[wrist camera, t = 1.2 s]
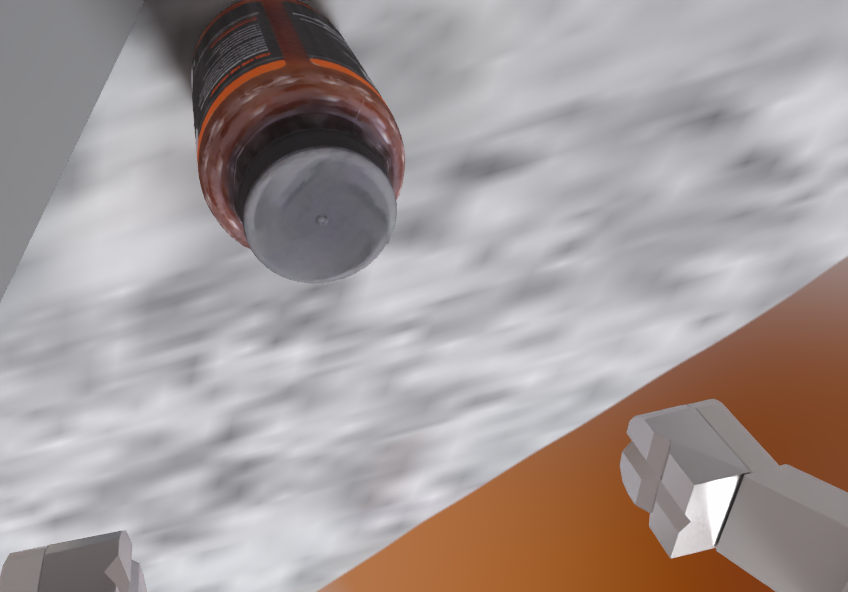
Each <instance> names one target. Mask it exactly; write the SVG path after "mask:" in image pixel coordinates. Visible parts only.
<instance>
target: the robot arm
mask: <svg viewBox="0 0 848 592" xmlns="http://www.w3.org/2000/svg"><path fill="white" fill-rule="evenodd" d="M627 434H628V435H629V436H630V438H631V440H632V441H631V442H630V444H629V445H628V446H627V447H626V448H625V449H624V450H623V451H622V457H621V462H620V468H621V474H622V480H623V483H624V485H625V488H626V490H627V493H628V494H629V496H630V497H631V499H632V500H633V502H634V504H635V505H637V506H638V507H640V508H642V509H644V510H646V511H647V512H649V513H650V522H649V527H650V528H651V530H652V531H653V533H654V534H655V536H656V537H657V539H658V540H659V542H660V543H661V545H662V546H663V548H664V549H665V551H666V552H667V554H668V555H669V557H670V558H675V557H679V556H683V555H686V554H691V553H695V552H699V551H703V550H707V549H711V548H716V547H717V548H716V551H718V552H719V553H721V554H722V555H723V556H725V557H726V558H728V559H729V560H731V561H732V562H734V563H736V564H737V565H738V566H740V567H741V568H742V569H744V570H745V571H747V572H748V573H750V574H751V575H752V576H754V577H755V578H757V579H758V580H760V581H761V582H763V583H764V584H766V585H767V586H769V587H770V588H771V589H773V590H774V591H776V592H848V493H847V492H845V491H843V490H841V489H839V488H837V487H835V486H832V485H830V484H828V483H826V482H824V481H822V480H819V479H817V478H815V477H813V476H811V475H809V474H807V473H804V472H802V471H800V470H798V469H795V468H794V467H792V466H789V465H787V464H786V465H781V466H779V465H778V464H777V463H776V462H775V461H774V460H773V459H772V457H771V456H770V455H769V454H768V453H767V452H766V451H765V450H764V449H763V448H762V446H761V445H760V444H759V443H758V442H757V441H756V440H755V439H754V438H753V437H752V436H751V434H750V433H749V432H748V431H747V430H746V429H745V428H744V427H743V426H742V425H741V424H740V423H739V422H738V420H737V419H736V418H735V417H734V416H733V415H732V414H731V413H730V412H729V410H728V409H727V408H726V407H725V406H724V405H723V404H722V403H721V402H719V401H717V400H715V399H710V400H705V401H701V402H696V403H692V404H687V405H681V406H676V407H672V408H668V409H664V410H659V411H655V412H651V413H647V414H642V415H638V416H634V417H633V419H632V420H631V421H630V422H629V426H628V430H627ZM131 559H132V543H131V541H130V538H129V536H128V534H127V532H126V531H118V532H113V533H108V534H103V535H98V536H93V537H87V538H82V539H77V540H72V541H67V542H62V543H57V544H52V545H48V546H43V547H38V548H33V549H29V550H24V551H19V552H14V553H10V554H9V556H8V557H7V559H6V561H5V563H4V564H3V567H2V571H1V576H0V592H147V590H146V584H145V580H144V575H143V572H142V569H141V566H140V564H139V563H137V562H135V561H133V560H131Z"/></svg>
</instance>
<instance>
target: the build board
mask: <svg viewBox="0 0 848 592" xmlns="http://www.w3.org/2000/svg"><path fill="white" fill-rule="evenodd" d="M144 2H145V0H0V302H1V300H2V297H3V295H4V293H5V291H6V289H7V287H8V285H9V283H10V281H11V279H12V277H13V275H14V272H15V270H16V268H17V266H18V264H19V262H20V260H21V258H22V256H23V254H24V252H25V250H26V248H27V245H28V243H29V241H30V239H31V237H32V235H33V233H34V231H35V229H36V227H37V225H38V223H39V220H40V218H41V216H42V214H43V212H44V210H45V208H46V206H47V204H48V202H49V200H50V198H51V195H52V193H53V191H54V189H55V187H56V185H57V183H58V181H59V179H60V177H61V175H62V173H63V171H64V168H65V166H66V164H67V162H68V160H69V158H70V156H71V154H72V152H73V150H74V148H75V146H76V143H77V141H78V139H79V137H80V135H81V133H82V131H83V129H84V127H85V125H86V123H87V121H88V119H89V116H90V114H91V112H92V110H93V108H94V106H95V104H96V102H97V100H98V98H99V96H100V94H101V91H102V89H103V87H104V85H105V83H106V81H107V79H108V77H109V75H110V73H111V71H112V69H113V67H114V64H115V62H116V60H117V58H118V56H119V54H120V52H121V50H122V48H123V46H124V44H125V42H126V39H127V37H128V35H129V33H130V31H131V29H132V27H133V25H134V23H135V21H136V19H137V17H138V14H139V12H140V10H141V8H142V6H143V4H144Z"/></svg>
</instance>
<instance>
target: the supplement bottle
mask: <svg viewBox="0 0 848 592" xmlns="http://www.w3.org/2000/svg"><path fill="white" fill-rule="evenodd" d="M191 85H192V100H193V113H194V127H195V138H196V150H197V162H198V172H199V179H200V184H201V188H202V191H203V195H204V198H205V200H206V202H207V205H208V207H209V208H210V210H211V212H212V214H213V215H214V216H215V218H216V219H217V221H218V222H219V223H220V225H221V226H222V227H223V228H224V229H225V230H226V232H227V233H229V234H230V236H231V237H233V238H235V240H236V241H238V242H239V243H240V244H242V245H243V246H245V247H247V248H249V249H251V250H252V252H253V253H254V255H255V256H256V257H257V258H258V260H259V261H260V262H262V263H263V264H264V265H265V266H266V267H267V268H268V269H270V270H271V271H273V272H274V273H276V274H278V275H280V276H282V277H285V278H287V279H290V280H294V281H298V282H304V283H326V282H331V281H335V280H338V279H344V278H346V277H348V276H350V275H352V274H355V273H357V272H358V271H360V270H361V269H363V268H365V267H367V266H368V265H369V264H370V263H371V262H372V261H373V260H374V259H375V258H376V257H377V256H378V255H379V254H380V252H381V251H382V250H383V249H384V247H385V245H386V244H388V242H389V240H390V236H391V234H392V232H393V230H394V226H395V222H396V213H397V203H396V200H397V198H398V196H399V194H400V190H401V187H402V183H403V177H404V168H405V154H404V145H403V141H402V138H401V134H400V131H399V129H398V126H397V124H396V122H395V119H394V117H393V115H392V113H391V112H390V110H389V108H388V107H387V105H386V103H385V102H384V100H383V99H382V97H381V95H380V94H379V92H378V91H377V89H376V88H375V86H374V84H373V83H372V81H371V80H370V78H369V77H368V75H367V73H366V72H365V70H364V69H363V67H362V66H361V64H360V63H359V61H358V60H357V58H356V57H355V55H354V54H353V52H352V51H351V49H350V48H349V46H348V45H347V43H346V42H345V40H344V38H343V37H342V35H341V34H340V33H339V31H338V30H337V29H336V28H335V27H334V26H333V25H332V24H331V23H330V22H329V21H328V20H327V19H326V18H325V17H324V16H323V15H322V14H320V13H319V12H318V11H316V10H315V9H313V8H312V7H310V6H308V5H306V4H304V3H302V2H299V1H296V0H243V1H240V2H238V3H236V4H233V5H232V6H230V7H228V8H227V9H225V10H224V11H222V12H221V13H220V14H219V15H218V16H216V17H215V18H214V19H213V20H212V21H211V23H210V24H209V25H208V26H207V27H206V29H205V30H204V32H203V33H202V34H201V36H200V39H199V41H198V43H197V46H196V49H195V52H194V57H193V62H192V70H191Z"/></svg>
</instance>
